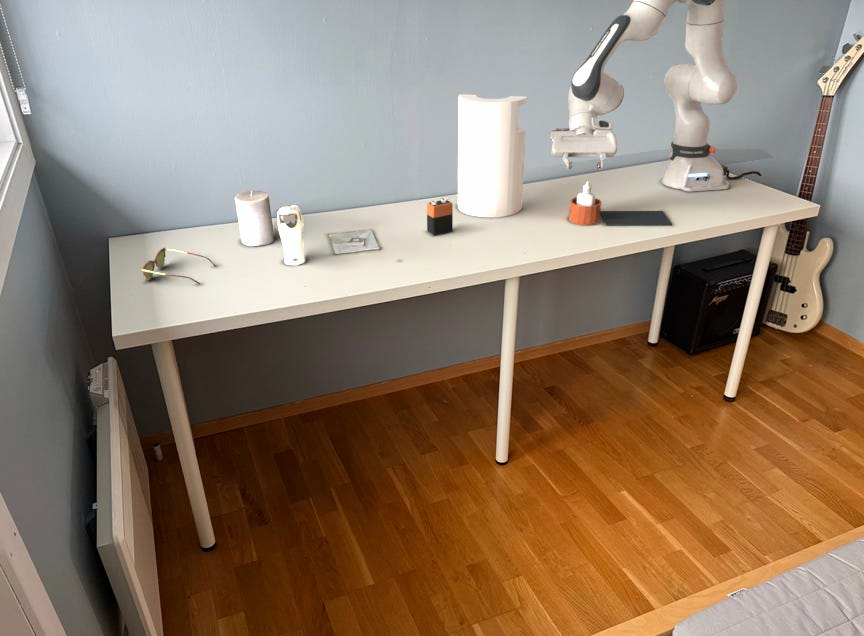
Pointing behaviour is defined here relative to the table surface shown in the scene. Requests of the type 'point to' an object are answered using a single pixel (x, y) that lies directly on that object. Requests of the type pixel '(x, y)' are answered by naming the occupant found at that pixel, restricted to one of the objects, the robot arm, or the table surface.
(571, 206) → the cup
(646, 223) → the mat
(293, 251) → the white handheld device
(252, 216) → the pillar candle
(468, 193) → the white curved half cylinder
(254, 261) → the table surface
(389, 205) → the table surface
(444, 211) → the battery
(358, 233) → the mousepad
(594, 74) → the robot arm
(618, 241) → the table surface
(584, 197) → the eye dropper bottle
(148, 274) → the sunglasses
